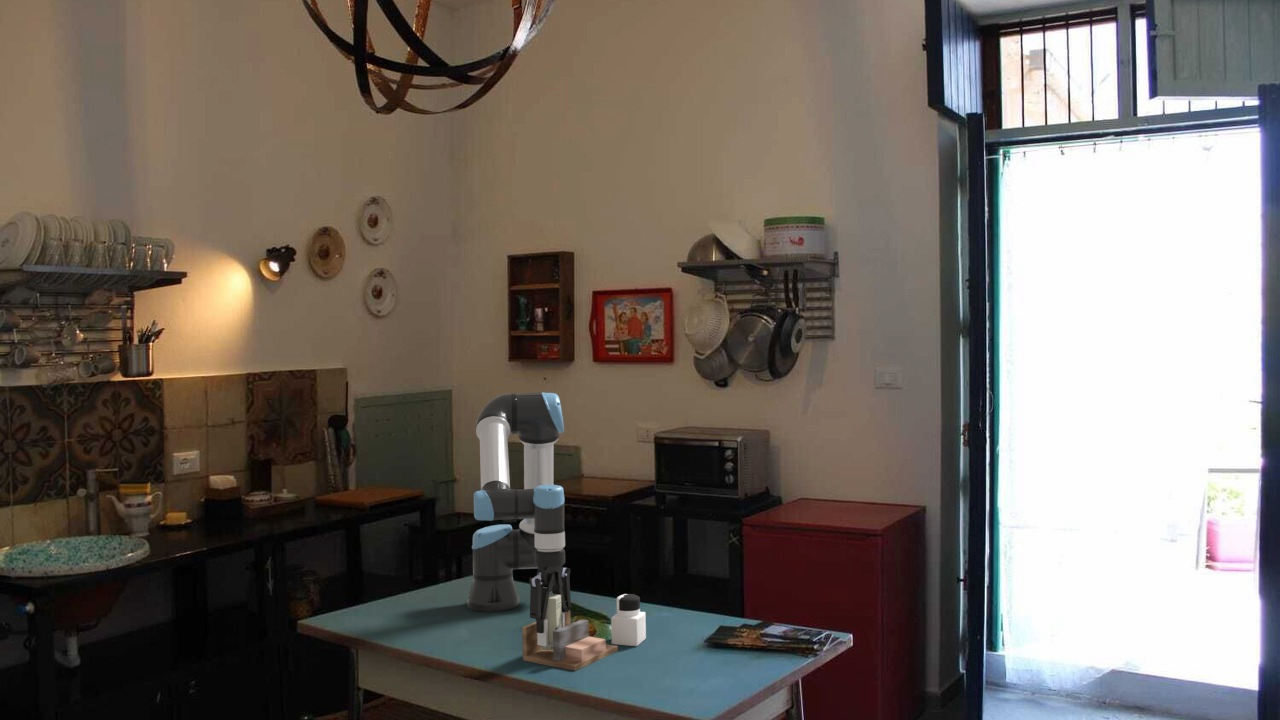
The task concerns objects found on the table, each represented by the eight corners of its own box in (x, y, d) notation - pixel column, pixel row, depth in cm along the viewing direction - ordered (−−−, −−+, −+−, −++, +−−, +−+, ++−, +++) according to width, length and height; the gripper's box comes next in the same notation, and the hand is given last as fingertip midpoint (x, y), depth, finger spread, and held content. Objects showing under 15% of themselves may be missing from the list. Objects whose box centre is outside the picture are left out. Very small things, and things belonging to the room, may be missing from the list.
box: (557, 651, 250) (556, 599, 250) (540, 650, 251) (538, 598, 251) (563, 644, 255) (562, 593, 255) (546, 643, 256) (545, 592, 256)
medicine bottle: (646, 638, 268) (645, 593, 268) (637, 646, 261) (636, 600, 261) (620, 636, 270) (620, 591, 270) (611, 644, 264) (610, 598, 263)
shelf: (567, 641, 267) (566, 610, 266) (617, 650, 258) (617, 618, 258) (522, 660, 252) (522, 627, 251) (575, 670, 243) (574, 636, 243)
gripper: (561, 540, 263) (562, 629, 263) (512, 554, 247) (514, 649, 247) (584, 543, 258) (586, 634, 259) (537, 557, 242) (539, 654, 243)
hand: (551, 641), depth 253 cm, fingers closed on box, 6 cm apart
